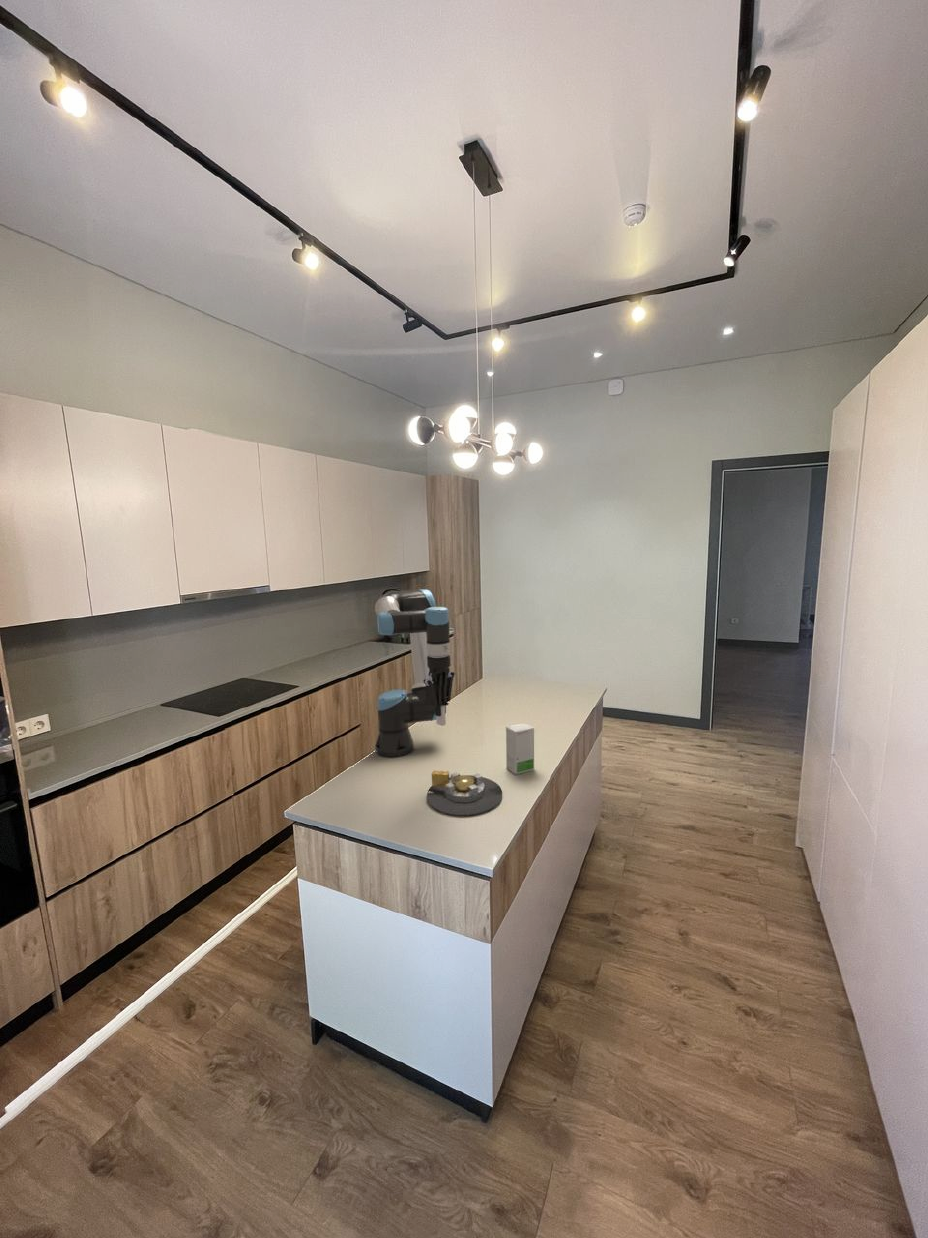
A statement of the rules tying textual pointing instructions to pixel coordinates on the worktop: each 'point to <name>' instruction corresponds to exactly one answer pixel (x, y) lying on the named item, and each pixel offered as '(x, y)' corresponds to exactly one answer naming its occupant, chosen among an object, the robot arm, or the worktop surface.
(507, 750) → the skincare box
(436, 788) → the bowl
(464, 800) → the ring nut
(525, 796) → the worktop surface
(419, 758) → the worktop surface
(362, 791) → the worktop surface
